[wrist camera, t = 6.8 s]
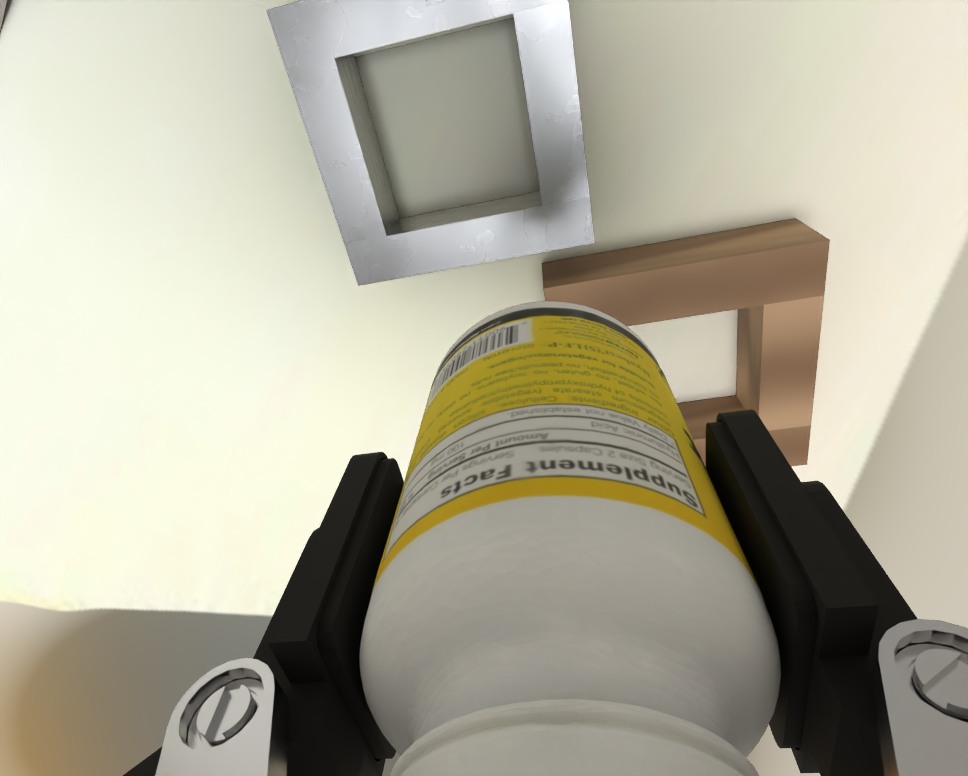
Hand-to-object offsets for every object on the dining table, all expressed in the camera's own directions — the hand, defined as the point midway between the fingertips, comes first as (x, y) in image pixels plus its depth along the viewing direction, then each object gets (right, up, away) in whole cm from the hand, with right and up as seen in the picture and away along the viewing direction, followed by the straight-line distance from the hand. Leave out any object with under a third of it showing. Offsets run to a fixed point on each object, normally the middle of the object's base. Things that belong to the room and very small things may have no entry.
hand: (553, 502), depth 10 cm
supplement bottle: (0, +2, +3) cm, 4 cm away
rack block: (+9, +4, +20) cm, 22 cm away
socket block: (-3, +14, +15) cm, 21 cm away
